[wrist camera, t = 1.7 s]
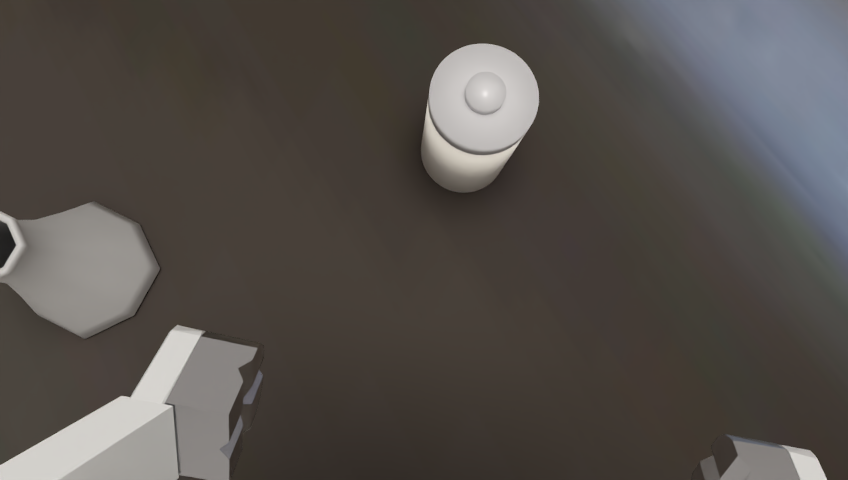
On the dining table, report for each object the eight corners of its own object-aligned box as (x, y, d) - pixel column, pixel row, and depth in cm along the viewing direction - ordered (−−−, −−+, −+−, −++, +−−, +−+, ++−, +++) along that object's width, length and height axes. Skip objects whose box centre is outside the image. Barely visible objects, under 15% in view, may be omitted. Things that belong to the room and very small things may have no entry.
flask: (-2, 270, 36) (-150, 244, 26) (98, 180, 37) (-8, 124, 27) (85, 362, 36) (-32, 372, 26) (185, 269, 37) (108, 244, 27)
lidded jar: (483, 98, 39) (513, 21, 29) (519, 172, 38) (560, 119, 29) (407, 129, 38) (412, 62, 29) (441, 205, 38) (458, 162, 28)
